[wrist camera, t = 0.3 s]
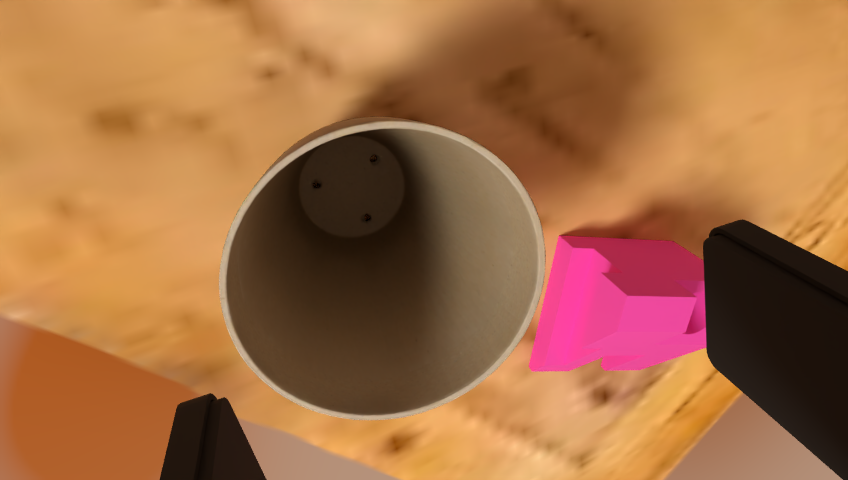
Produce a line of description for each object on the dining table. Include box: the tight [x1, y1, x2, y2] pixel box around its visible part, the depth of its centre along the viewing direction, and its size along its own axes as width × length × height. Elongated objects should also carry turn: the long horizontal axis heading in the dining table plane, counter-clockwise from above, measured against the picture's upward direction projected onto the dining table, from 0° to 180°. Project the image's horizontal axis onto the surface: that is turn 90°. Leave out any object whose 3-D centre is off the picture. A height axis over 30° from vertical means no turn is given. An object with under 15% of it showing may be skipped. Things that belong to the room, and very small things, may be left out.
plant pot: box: [219, 117, 546, 420], centre depth 34 cm, size 15×15×16 cm
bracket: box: [529, 235, 706, 371], centre depth 46 cm, size 12×10×10 cm
